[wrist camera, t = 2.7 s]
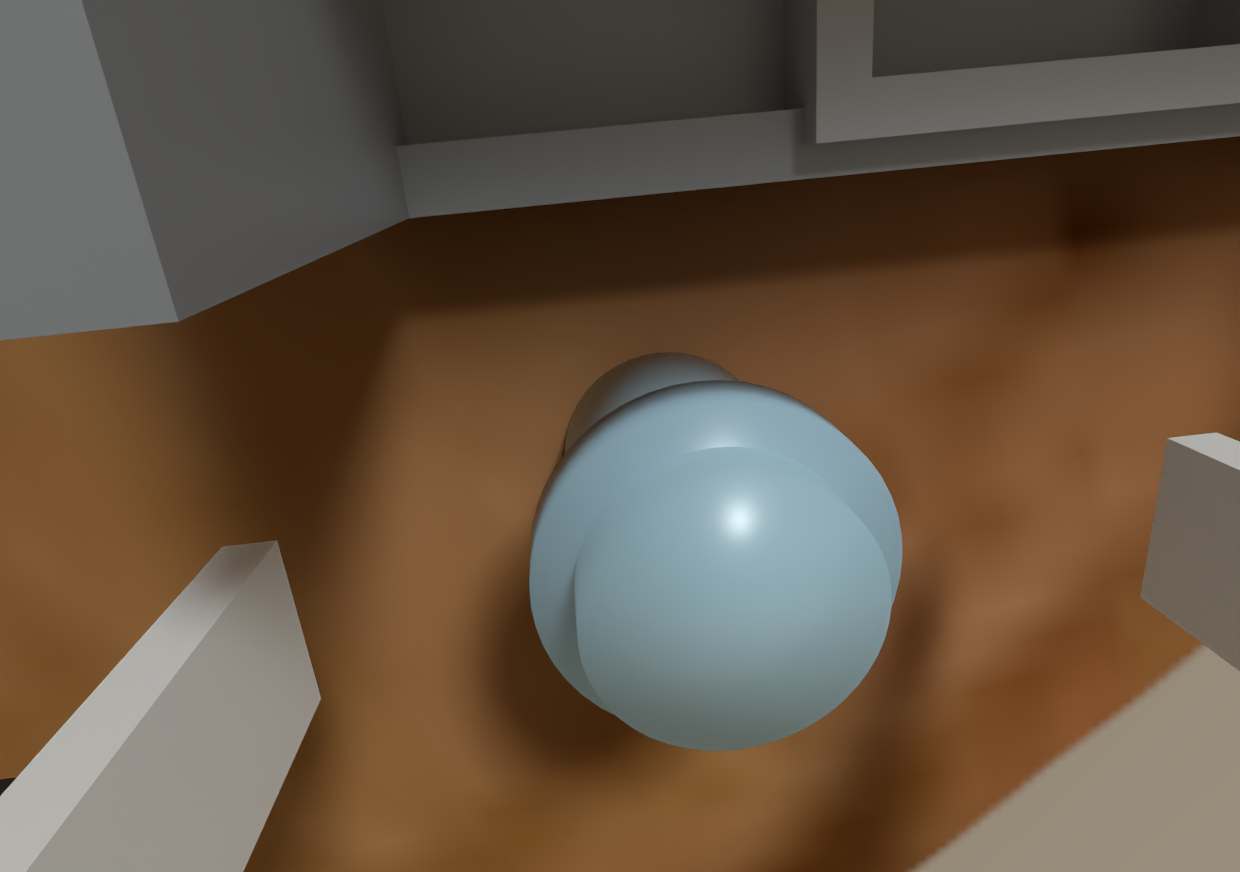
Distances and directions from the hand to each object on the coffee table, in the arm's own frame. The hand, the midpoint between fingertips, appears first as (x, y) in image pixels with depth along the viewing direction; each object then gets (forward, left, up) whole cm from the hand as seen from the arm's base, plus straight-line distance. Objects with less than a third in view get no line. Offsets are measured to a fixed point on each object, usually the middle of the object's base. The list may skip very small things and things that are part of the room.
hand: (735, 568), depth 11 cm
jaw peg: (0, 0, -4) cm, 4 cm away
